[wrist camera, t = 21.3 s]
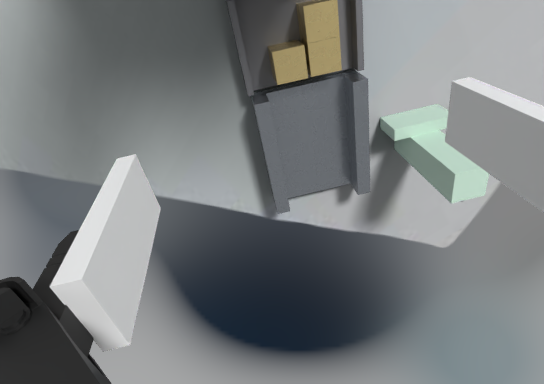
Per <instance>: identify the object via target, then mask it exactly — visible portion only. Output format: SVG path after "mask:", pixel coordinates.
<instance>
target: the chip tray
mask: <svg viewBox="0 0 544 384" xmlns="http://www.w3.org/2000/svg"><path fill="white" fill-rule="evenodd" d="M226 1H227V5H228V10H229V14H230V19H231V23H232V27H233V32H234V36H235V41H236V45H237V50H238V54H239V59H240V63H241V68H242V72H243V76H244V81H245V85H246V90H247V94H248V96H251V95H254V92H253V91H254V90H259V89H263V88H267V87H272V86H276V85H277V83H276V82H275V80H274V78H273V75H272V69H271V64H270V58H269V52H268V47H267V46H271V45H276V44H280V43H284V42H289V41H293V40H299V41H300V42H301V40H300V32H299V24H298V15H297V7H296V4H298V3H302V2H307V1H311V0H226ZM337 1H338V18H339V34H340V49H341V66H342V70H346V69H351V68H354V69H356V70H357V71H361V70H364V52H363V14H362V0H337ZM342 70H340V71H342ZM335 72H338V71H335ZM331 73H333V72H331ZM327 74H329V73H327ZM322 75H324V74H322ZM318 76H320V75H318ZM313 77H316V76H313ZM308 78H311V76H310V75H309V74H308ZM306 79H307V78H306ZM293 82H294V81H293ZM284 84H285V83H284ZM280 85H281V84H280Z"/></svg>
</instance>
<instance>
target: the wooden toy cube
mask: <svg viewBox="0 0 544 384" xmlns="http://www.w3.org/2000/svg"><path fill="white" fill-rule="evenodd" d="M267 47H268V52H269V58H270V64H271V69H272V75H273V78H274V80H275V82H276V83H277V85H280V84H284V83H289V82H293V81H298V80H302V79H306V78H308V72H307V64H306V55H305V47H304V44H302V43H301V42H300V41H299V40H293V41H289V42H284V43H280V44H276V45H271V46H267Z"/></svg>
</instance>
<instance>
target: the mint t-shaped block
mask: <svg viewBox="0 0 544 384" xmlns="http://www.w3.org/2000/svg"><path fill="white" fill-rule="evenodd" d="M447 119H448V110H447V109H445V108H443V107H442V106H440V105H438V104H435V105H431V106H427V107H422V108H418V109H414V110H410V111H405V112H401V113H397V114H393V115H389V116H384V117H380V128H381V129H382V130H383V131H384V132H385V133H386V134H387V135H388V136H390V137H391V138H392V139H393V140H394V141H395V145H394V149H395V150H396V151H397V152H398V153H399V154H400V155H401V156H402V157H403V158H404V159H405V160H406V161H407V162H408V163H409V164H411V165H412V166H413V167H414V168H415V169H416V170H417V171H418V172H419V173H420V174H421V175H422V176H423V177H424V178H425V179H426V180H427V181H428V182H429V183H430V184H431V185H432V186H433V187H435V188H436V189H437V190H438V191H439V192H440V193H441V194H442V195H443V196H444V197H445V198H446V199H447V200H448V201H449V202H450V203H455V202H459V201H464V200H468V199H472V198H476V197H480V196H484V195H485V191H486V186H487V182H488V177H489V173H488V172H486V171H485V170H483V169H482V168H481V167H479V166H478V165H476V164H475V163H474V162H472V161H471V160H469V159H468V158H467V157H465V156H464V155H462V154H461V153H460V152H458V151H457V150H456V149H454V148H453V147H451V146H450V145H449V144H447V143H446V142H445V136H446V135H445V134H444V133H442V132H441V131H440V130H443V129H446V127H447Z"/></svg>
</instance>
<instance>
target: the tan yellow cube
mask: <svg viewBox="0 0 544 384" xmlns="http://www.w3.org/2000/svg"><path fill="white" fill-rule="evenodd" d="M300 40H301V43H302V44H304V47H305V55H306V64H307V72H308V74H309V75H310V76H311V77H313V76H318V75H322V74H327V73H331V72H335V71H340V70H342V66H341V49H340V36H339V37H334V38H330V39H325V40H321V41H316V42H312V43H308V44H307V43H306V42H305V41H303V40H302V39H301V38H300Z"/></svg>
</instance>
